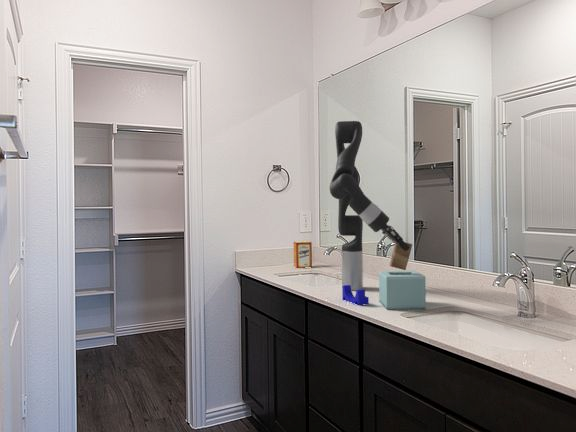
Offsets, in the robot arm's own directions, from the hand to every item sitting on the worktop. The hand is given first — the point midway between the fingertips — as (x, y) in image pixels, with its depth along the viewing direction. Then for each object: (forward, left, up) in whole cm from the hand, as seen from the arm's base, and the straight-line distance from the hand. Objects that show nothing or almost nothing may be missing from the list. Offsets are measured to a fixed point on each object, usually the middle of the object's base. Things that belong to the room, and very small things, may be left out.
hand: (406, 248), depth 169 cm
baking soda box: (-104, -37, -22) cm, 113 cm away
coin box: (0, -2, -21) cm, 21 cm away
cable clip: (-6, -19, -22) cm, 29 cm away
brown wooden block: (0, -3, -7) cm, 8 cm away
